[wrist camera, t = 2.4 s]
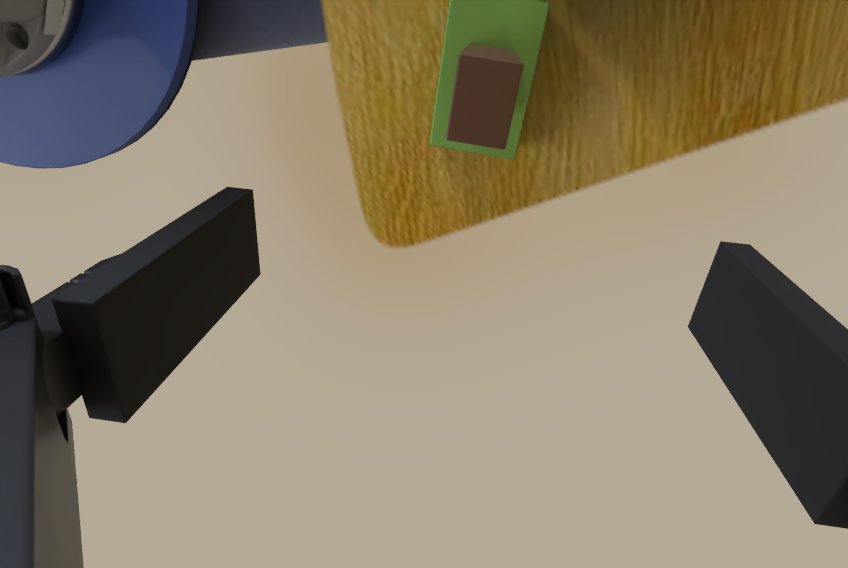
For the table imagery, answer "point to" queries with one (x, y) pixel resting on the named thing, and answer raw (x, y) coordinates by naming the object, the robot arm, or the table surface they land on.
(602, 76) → the table surface
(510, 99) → the sponge brush
